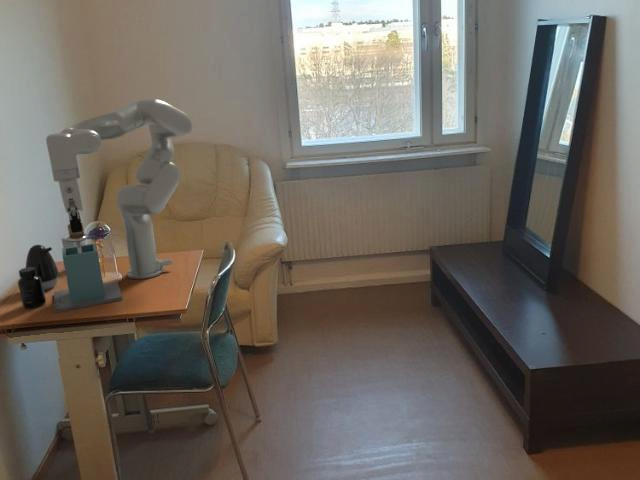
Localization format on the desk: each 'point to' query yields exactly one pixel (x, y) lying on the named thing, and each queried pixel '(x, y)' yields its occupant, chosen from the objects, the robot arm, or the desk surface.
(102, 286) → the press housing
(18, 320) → the desk surface
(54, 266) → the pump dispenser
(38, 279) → the supplement bottle
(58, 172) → the robot arm
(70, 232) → the plunger
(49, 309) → the desk surface
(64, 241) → the skincare box
